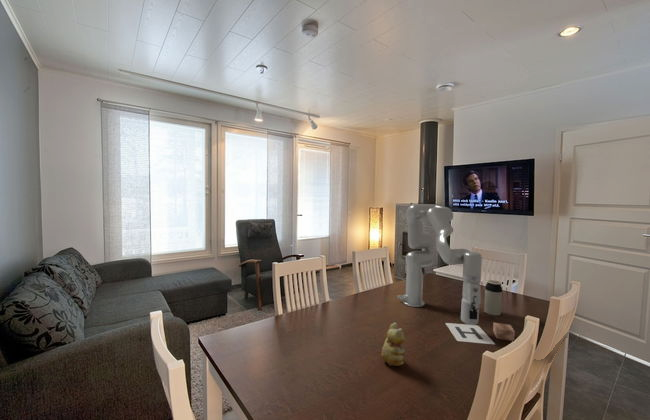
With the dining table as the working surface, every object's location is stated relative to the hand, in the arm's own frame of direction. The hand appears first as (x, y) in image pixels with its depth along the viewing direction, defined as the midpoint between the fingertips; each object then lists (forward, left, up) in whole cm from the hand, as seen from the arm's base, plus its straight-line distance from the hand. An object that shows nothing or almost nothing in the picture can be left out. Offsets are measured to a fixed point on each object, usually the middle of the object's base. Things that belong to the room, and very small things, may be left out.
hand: (469, 315), depth 132 cm
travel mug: (+23, +28, -9) cm, 37 cm away
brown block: (+15, 0, -9) cm, 18 cm away
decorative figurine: (-39, -30, -9) cm, 50 cm away
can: (0, 0, -4) cm, 4 cm away
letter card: (0, 0, -9) cm, 9 cm away
